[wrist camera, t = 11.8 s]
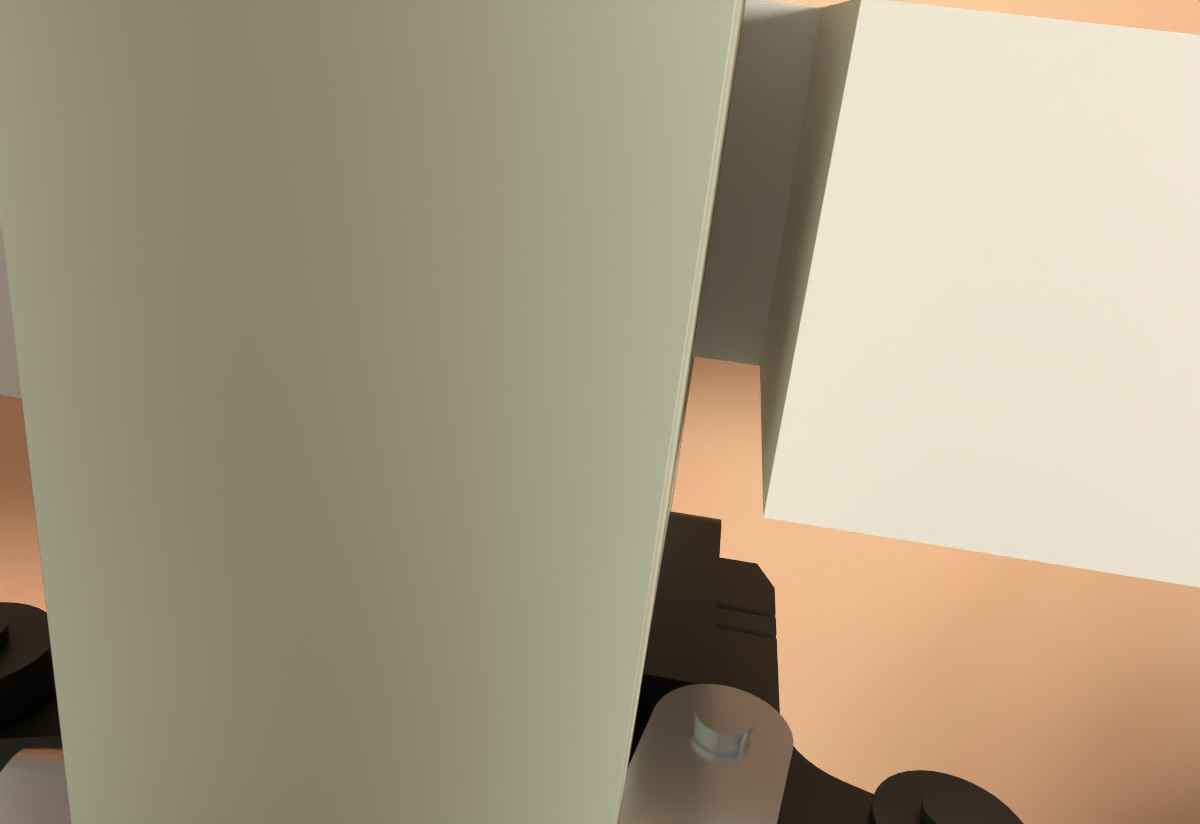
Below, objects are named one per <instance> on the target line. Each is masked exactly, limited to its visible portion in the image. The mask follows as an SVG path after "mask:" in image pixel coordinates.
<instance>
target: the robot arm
mask: <svg viewBox="0 0 1200 824" xmlns="http://www.w3.org/2000/svg"><path fill="white" fill-rule="evenodd" d="M720 537H721V520H720V519H714V518H708V517H702V516H695V515H689V514H683V513H677V512H671V511H670V513H669V518H668V525H667V531H666V537H665V543H664V549H663V555H662V561H661V567H660V573H659V579H658V585H657V591H656V597H655V603H654V609H653V615H652V621H651V627H650V633H649V639H648V645H647V651H646V657H645V664H644V670H643V676H642V682H641V689H640V696H639V702H638V709H637V716H636V722H635V729H634V736H633V742H632V749H631V756H630V762H629V767H628V769H627V771H626V777H625V783H624V789H623V796H622V802H621V808H620V814H619V820H618V824H1023V823H1022V822H1021V820H1020V819H1019V818H1018V817H1017V816H1016V815H1015V814H1014V813H1013V812H1012V811H1011V810H1010V809H1009V808H1008V807H1007V806H1006V805H1005V804H1004V803H1003V802H1001V801H1000V800H999V799H998V798H996V797H995V796H993V795H992V794H990V793H989V792H987V791H986V790H984V789H982V788H980V787H979V786H977V785H975V784H973V783H971V782H968V781H966V780H964V779H961V778H958V777H955V776H952V775H949V774H945V773H940V772H935V771H924V770H917V771H906V772H902V773H898V774H895V775H893V776H891V777H889V778H887V779H886V780H885V781H883V782H882V783H881V784H880V786H879V787H878V788H877V790H876V792H875V794H872V793H869V792H867V791H865V790H862V789H860V788H858V787H855V786H853V785H850V784H848V783H846V782H843V781H841V780H839V779H837V778H835V777H833V776H831V775H829V774H827V773H825V772H824V771H822V770H821V769H819V768H817V767H816V766H815V765H813V764H812V763H811V762H809V761H808V760H807V759H805V758H804V757H803V756H802V755H801V754H800V753H799V752H798V751H797V750H796V749H795V747H794V746H793V737H792V733H791V730H790V728H789V726H788V724H787V723H786V721H785V720H784V718H783V717H782V716H781V715H780V708H779V684H778V660H777V639H776V618H775V613H776V612H775V588H774V587H773V585H772V584H771V582H770V581H769V580H768V578H767V577H766V576H765V574H764V573H763V571H762V570H761V569H760V567H759V566H758V564H755V563H749V562H743V561H737V560H731V559H725V558H719V554H720ZM0 824H72V823H71V815H70V806H69V798H68V789H67V780H66V772H65V763H64V755H63V746H62V738H61V729H60V721H59V712H58V704H57V695H56V686H55V678H54V669H53V661H52V652H51V644H50V635H49V627H48V618H47V613H46V612H45V611H43V610H41V609H39V608H37V607H33V606H30V605H26V604H20V603H8V602H0Z"/></svg>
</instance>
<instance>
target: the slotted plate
mask: <svg viewBox="0 0 1200 824" xmlns="http://www.w3.org/2000/svg"><path fill="white" fill-rule="evenodd" d="M745 5H746V0H0V216H1V225H2V233H3V242H4V250H5V259H6V268H7V276H8V285H9V293H10V302H11V310H12V319H13V327H14V336H15V344H16V353H17V362H18V370H19V379H20V387H21V396H22V404H23V413H24V421H25V430H26V439H27V447H28V456H29V464H30V473H31V481H32V490H33V498H34V507H35V515H36V524H37V533H38V541H39V550H40V558H41V567H42V575H43V584H44V592H45V601H46V609H47V618H48V627H49V635H50V644H51V652H52V661H53V669H54V678H55V686H56V695H57V704H58V712H59V721H60V729H61V738H62V746H63V755H64V763H65V772H66V780H67V789H68V798H69V806H70V815H71V823H72V824H618V820H619V814H620V808H621V802H622V796H623V789H624V783H625V777H626V771H627V769H628V767H629V762H630V756H631V749H632V742H633V736H634V729H635V722H636V716H637V709H638V702H639V696H640V689H641V682H642V676H643V670H644V664H645V657H646V651H647V645H648V639H649V633H650V627H651V621H652V615H653V609H654V603H655V597H656V591H657V585H658V579H659V573H660V567H661V561H662V555H663V549H664V543H665V537H666V531H667V525H668V518H669V513H670V511H671V507H672V501H673V494H674V487H675V481H676V474H677V468H678V461H679V455H680V448H681V441H682V435H683V428H684V422H685V415H686V409H687V402H688V395H689V389H690V382H691V376H692V369H693V362H694V356H692V355H693V349H694V342H695V335H696V329H697V322H698V316H699V309H700V302H701V296H702V289H703V282H704V276H705V269H706V263H707V256H708V249H709V243H710V236H711V230H712V223H713V216H714V210H715V203H716V196H717V190H718V183H719V177H720V170H721V163H722V157H723V150H724V144H725V137H726V130H727V124H728V117H729V110H730V104H731V97H732V91H733V84H734V77H735V71H736V64H737V58H738V51H739V44H740V38H741V31H742V24H743V18H744V11H745Z"/></svg>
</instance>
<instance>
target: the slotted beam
mask: <svg viewBox="0 0 1200 824" xmlns="http://www.w3.org/2000/svg"><path fill="white" fill-rule="evenodd" d="M692 356H699V357H705V358H712V359H719V360H726V361H733V362H740V363H746V364H753V365H760V381H761V428H762V474H763V517H764V518H770V519H776V520H782V521H789V522H795V523H801V524H807V525H814V526H820V527H826V528H832V529H839V530H845V531H851V532H857V533H864V534H870V535H876V536H882V537H888V538H895V539H901V540H907V541H913V542H920V543H926V544H932V545H938V546H945V547H951V548H957V549H963V550H970V551H976V552H982V553H988V554H995V555H1001V556H1007V557H1013V558H1020V559H1026V560H1032V561H1038V562H1045V563H1051V564H1057V565H1063V566H1069V567H1076V568H1082V569H1088V570H1094V571H1101V572H1107V573H1113V574H1119V575H1126V576H1132V577H1138V578H1144V579H1151V580H1157V581H1163V582H1169V583H1176V584H1182V585H1188V586H1194V587H1200V35H1194V34H1185V33H1176V32H1167V31H1158V30H1149V29H1140V28H1131V27H1122V26H1113V25H1104V24H1095V23H1086V22H1077V21H1068V20H1059V19H1050V18H1041V17H1032V16H1023V15H1014V14H1005V13H996V12H987V11H978V10H969V9H960V8H951V7H942V6H933V5H924V4H915V3H906V2H897V1H888V0H850V1H847V2H843V3H839V4H835V5H831V6H827V7H815V6H806V5H797V4H788V3H779V2H770V1H762V0H746V5H745V11H744V18H743V24H742V31H741V38H740V44H739V51H738V58H737V64H736V71H735V77H734V84H733V91H732V97H731V104H730V110H729V117H728V124H727V130H726V137H725V144H724V150H723V157H722V163H721V170H720V177H719V183H718V190H717V196H716V203H715V210H714V216H713V223H712V230H711V236H710V243H709V249H708V256H707V263H706V269H705V276H704V282H703V289H702V296H701V302H700V309H699V316H698V322H697V329H696V335H695V342H694V349H693V355H692ZM0 395H2V396H8V397H15V398H21V399H22V396H21V387H20V379H19V370H18V362H17V353H16V344H15V336H14V327H13V319H12V310H11V302H10V293H9V285H8V276H7V268H6V259H5V250H4V242H3V233H2V225H1V216H0Z"/></svg>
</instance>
